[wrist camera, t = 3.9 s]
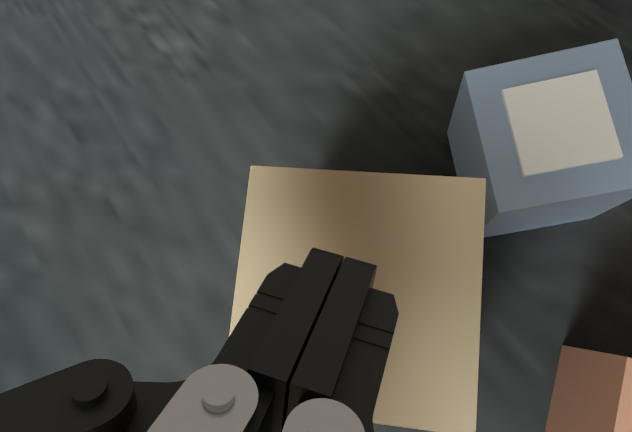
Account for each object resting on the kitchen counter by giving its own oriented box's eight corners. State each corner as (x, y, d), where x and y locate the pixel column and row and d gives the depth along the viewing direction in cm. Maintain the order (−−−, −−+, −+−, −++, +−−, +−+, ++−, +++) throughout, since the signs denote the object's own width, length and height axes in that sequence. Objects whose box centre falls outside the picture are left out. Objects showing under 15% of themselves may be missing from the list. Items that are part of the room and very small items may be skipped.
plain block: (454, 226, 22) (486, 178, 14) (445, 392, 21) (475, 437, 13) (298, 215, 23) (251, 165, 16) (281, 371, 22) (220, 402, 14)
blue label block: (560, 110, 22) (619, 35, 16) (590, 218, 21) (667, 180, 15) (446, 133, 23) (465, 68, 17) (471, 240, 22) (500, 211, 16)
